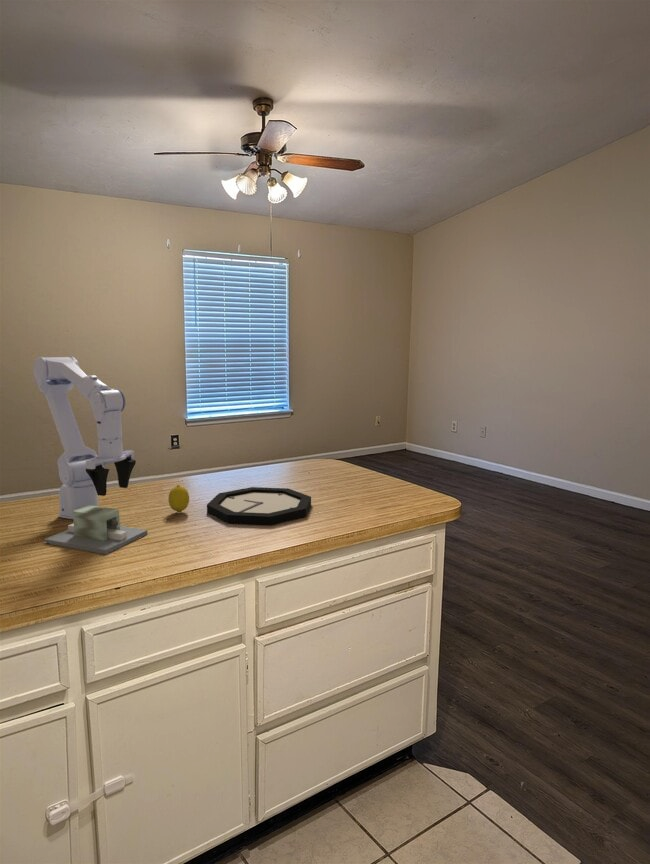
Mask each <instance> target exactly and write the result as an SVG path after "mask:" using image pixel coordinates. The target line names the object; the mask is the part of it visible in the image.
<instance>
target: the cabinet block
mask: <svg viewBox="0 0 650 864" xmlns="http://www.w3.org/2000/svg"><path fill="white" fill-rule="evenodd" d="M72 520H73V523H74V535H75V536H80V537H86V538H92V539H98V540H103V541H105V540H107V528H108V529H114V530H120V526H121V525H120V524H121V523H120V509H117V508H112V507H104V506H99V505H98V506H92V505H89V506H86V507H83V508H80V509H77V510H75V511H73V519H72Z"/></svg>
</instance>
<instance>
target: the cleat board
mask: <svg viewBox="0 0 650 864" xmlns="http://www.w3.org/2000/svg"><path fill="white" fill-rule="evenodd" d="M147 535H148V530H147V529H143V528H137V527H130V526H124V525H120V530H114V529H108V528H107V540H105V541H103V540H98V539H92V538H86V537H80V536H75V535H74V522H73V523H71V524H68V525H67V529H66V530H64V531H61V532H59V533H56V534H54V535H50V536H48V537H45V538H44V543H45V542H46V543H45V544H47V543H49V544H48V545H54V546H60V547H64V548H69V549H76V550H81V551H87V552H91V553H96V554H101V555H107V554H109V553H112V552H113V551H116V550H118V549H119V548H121V547H124V546H126V545H128V544H131V543H132V542H134V541H136V540H138V539H140V538H142V537H144V536H147Z"/></svg>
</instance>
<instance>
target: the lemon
mask: <svg viewBox="0 0 650 864" xmlns="http://www.w3.org/2000/svg"><path fill="white" fill-rule="evenodd" d="M189 504H190V495H189V492H188V490H187V489H186V488H185V486H182V485H180V484H177V485H176V486H174V487H172V488H171V490H170V491H169V492H168V505H169V507H170V508H171V509H172V511H175V512H177V513H180V514H181V513H182V512H183V511H184V510H186V509H187V508H188V506H189Z"/></svg>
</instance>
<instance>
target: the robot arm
mask: <svg viewBox="0 0 650 864" xmlns="http://www.w3.org/2000/svg"><path fill="white" fill-rule="evenodd" d="M79 363H80V362H79V361H78V360H77V359H76V358H75V357H74V356H64V357H63V356H62V357H61V356H56V357H54V356H53V357H52V356H51V357H49V356H48V357H47V356H46V357H45V356H44V357H43V356H38V357H36V358H35V360H34V362H33V367H32V368H33V369H32V371H33V372H32V373H33V376H34V379H35V381H36V382H35V383H36V384H37V387H38V390H39V391H40V392H41V393H43V394H44V395H45V398H46V401H47V402H46V403H47V404H48V407H49V411H50V413H51V416H52V419H53V422H54V424H55V427H56V430H57V433H58V436H59V439H60V442H61V445H62V448H63V451H64V452H63V453H62V454H61V455H60V456H59V457H58V459H57V463H56V464H57V467H58V476H59V479H60V482H62V485H61V486H60V488H59V490H58V500H59V501H58V502H59V503H58V504H59V514H57V517H58V518H62V519H69V520H73V511H75V510H77V509H80V508H83V507H86V506H89V505H92V506H99V496H101V497H104V496H107V481H108V474H109V471H110V468H105V467H104V466H107V465H110V464H114V466H115V469H116V474H117V483H118V487H119V488H121V489H127V488H128V487H129V483H130V478H131V474H132V471H133V469H134V468H135V466H136V464H137V463H136V461H137V460H136V459H134V458H135V450H130V449H126V450H124V446H123V445H124V444H123V443H124V442H123V426H122V412H123V411H124V410H125V408H126V404H127V403H126V396H125V394H124V392H123V391H122V390H121V388H111V387H109V386H108V385H107V384H106V383H104V382H103V381H101V380H100V379H99V376H97V375H87V374H86V373H85V372H84V371H83V369H81V367H80V364H79ZM74 386H77V392H78V394H80V396H82V397H83V398H84V399H85V400H87V401H88V402H89V403H90V408H91V410H92V414H93V419H94V421H96V434H97V436H96V437H97V451H98V453H97V452H96V450H95V449H92V448H91V447H88V446H86V445H85V443H84V441H83V440H84V439H83V437H82V434H81V432H80V429H79V426H78V423H77V420H76V418H75V414H74V411H73V408H72V407H71V406H72V405H71V403H70V399H69V397H68V395H67V394H68V392H71V390H73V389H74Z"/></svg>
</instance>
